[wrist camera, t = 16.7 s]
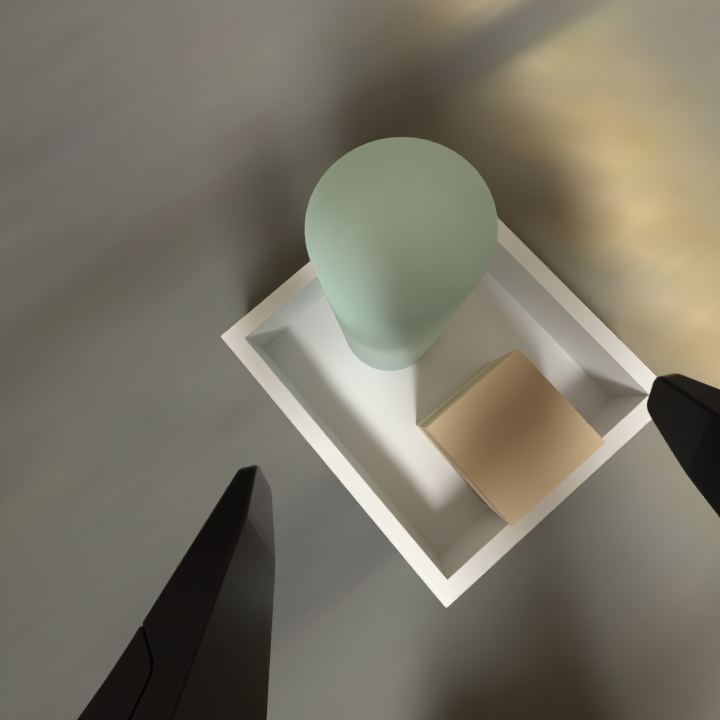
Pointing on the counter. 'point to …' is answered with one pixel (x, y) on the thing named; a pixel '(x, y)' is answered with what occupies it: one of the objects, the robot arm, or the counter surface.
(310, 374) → the tote
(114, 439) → the counter surface
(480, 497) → the cube
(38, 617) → the counter surface
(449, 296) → the canister
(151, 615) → the robot arm
